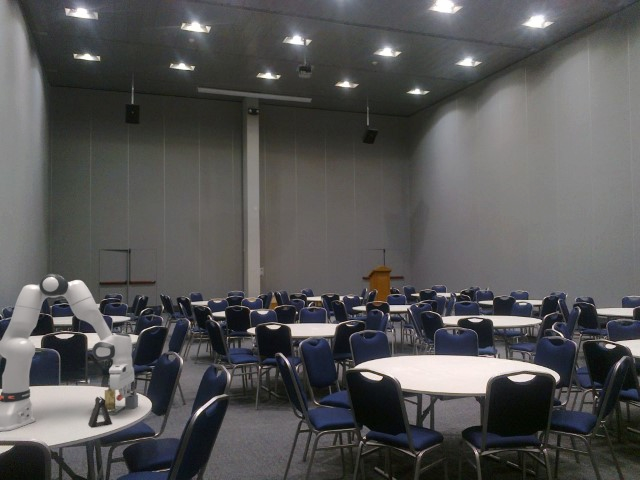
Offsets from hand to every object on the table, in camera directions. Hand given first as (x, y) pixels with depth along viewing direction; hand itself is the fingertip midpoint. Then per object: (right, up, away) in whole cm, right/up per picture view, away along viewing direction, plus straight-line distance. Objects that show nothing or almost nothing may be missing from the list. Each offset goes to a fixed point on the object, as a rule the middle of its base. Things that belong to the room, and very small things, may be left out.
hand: (123, 395), depth 272 cm
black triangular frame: (-4, -9, -18) cm, 20 cm away
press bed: (-7, -9, +3) cm, 12 cm away
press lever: (0, -3, +3) cm, 4 cm away
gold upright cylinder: (-8, -8, +3) cm, 11 cm away
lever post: (+1, -9, +11) cm, 14 cm away
